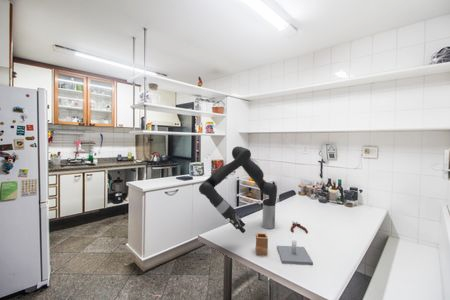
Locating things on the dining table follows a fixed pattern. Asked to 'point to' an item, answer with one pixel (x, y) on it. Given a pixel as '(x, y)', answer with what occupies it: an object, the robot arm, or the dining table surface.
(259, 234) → the collar
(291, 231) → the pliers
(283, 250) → the post base
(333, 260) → the dining table surface
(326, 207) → the dining table surface
